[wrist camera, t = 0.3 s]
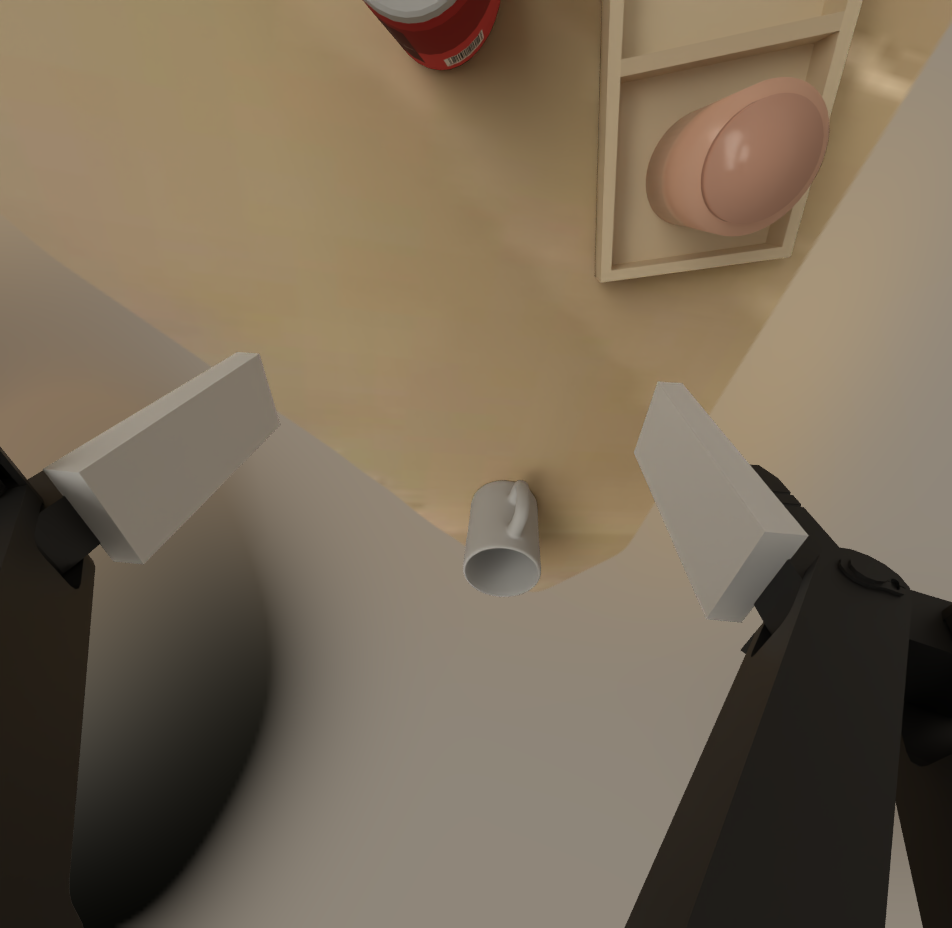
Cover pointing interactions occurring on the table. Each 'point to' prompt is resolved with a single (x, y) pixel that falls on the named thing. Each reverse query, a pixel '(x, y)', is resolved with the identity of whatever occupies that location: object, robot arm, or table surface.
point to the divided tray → (685, 90)
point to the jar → (740, 158)
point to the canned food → (437, 28)
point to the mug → (503, 540)
